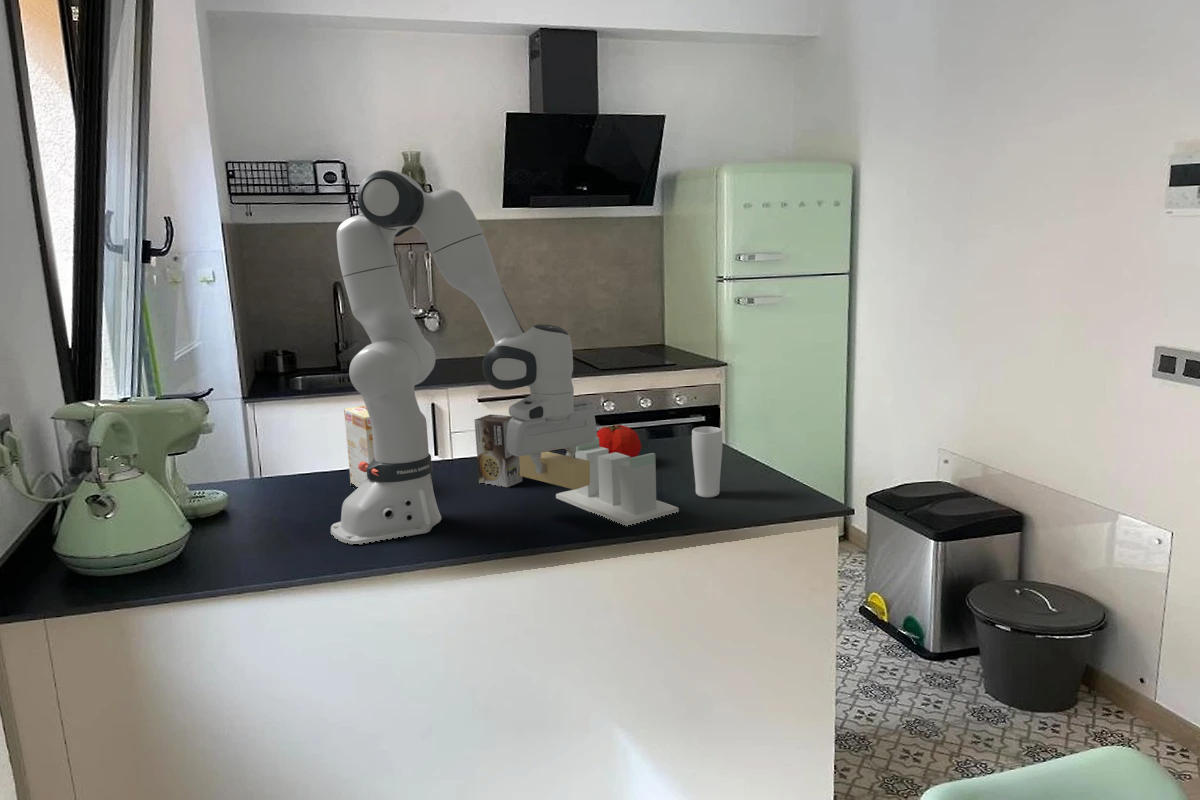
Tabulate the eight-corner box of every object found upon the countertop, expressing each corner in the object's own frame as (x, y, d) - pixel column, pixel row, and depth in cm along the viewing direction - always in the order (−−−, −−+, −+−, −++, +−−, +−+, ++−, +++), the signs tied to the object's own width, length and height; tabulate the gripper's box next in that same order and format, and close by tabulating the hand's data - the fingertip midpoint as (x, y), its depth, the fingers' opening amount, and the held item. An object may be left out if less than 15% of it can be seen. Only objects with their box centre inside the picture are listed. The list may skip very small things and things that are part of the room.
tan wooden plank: (574, 489, 172) (574, 465, 171) (519, 475, 182) (519, 452, 182) (590, 484, 175) (589, 460, 174) (535, 471, 186) (534, 448, 185)
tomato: (611, 457, 230) (610, 418, 228) (650, 462, 223) (649, 422, 221) (581, 468, 220) (579, 428, 218) (621, 475, 212) (620, 433, 210)
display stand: (626, 526, 175) (624, 464, 172) (556, 498, 195) (553, 442, 193) (678, 512, 183) (677, 452, 180) (605, 486, 204) (603, 432, 201)
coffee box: (523, 481, 210) (520, 416, 207) (507, 488, 205) (503, 421, 202) (494, 476, 215) (490, 413, 212) (477, 483, 209) (473, 418, 206)
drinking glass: (721, 499, 190) (721, 433, 187) (691, 498, 192) (690, 433, 189) (723, 490, 197) (723, 426, 194) (693, 489, 198) (693, 426, 195)
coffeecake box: (400, 494, 203) (394, 413, 199) (371, 500, 199) (363, 417, 195) (378, 480, 215) (371, 404, 211) (349, 486, 211) (342, 408, 207)
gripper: (585, 396, 184) (586, 458, 187) (501, 408, 173) (503, 475, 175) (602, 400, 179) (603, 464, 182) (517, 413, 168) (519, 482, 170)
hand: (553, 470), depth 178 cm, fingers closed on tan wooden plank, 5 cm apart
